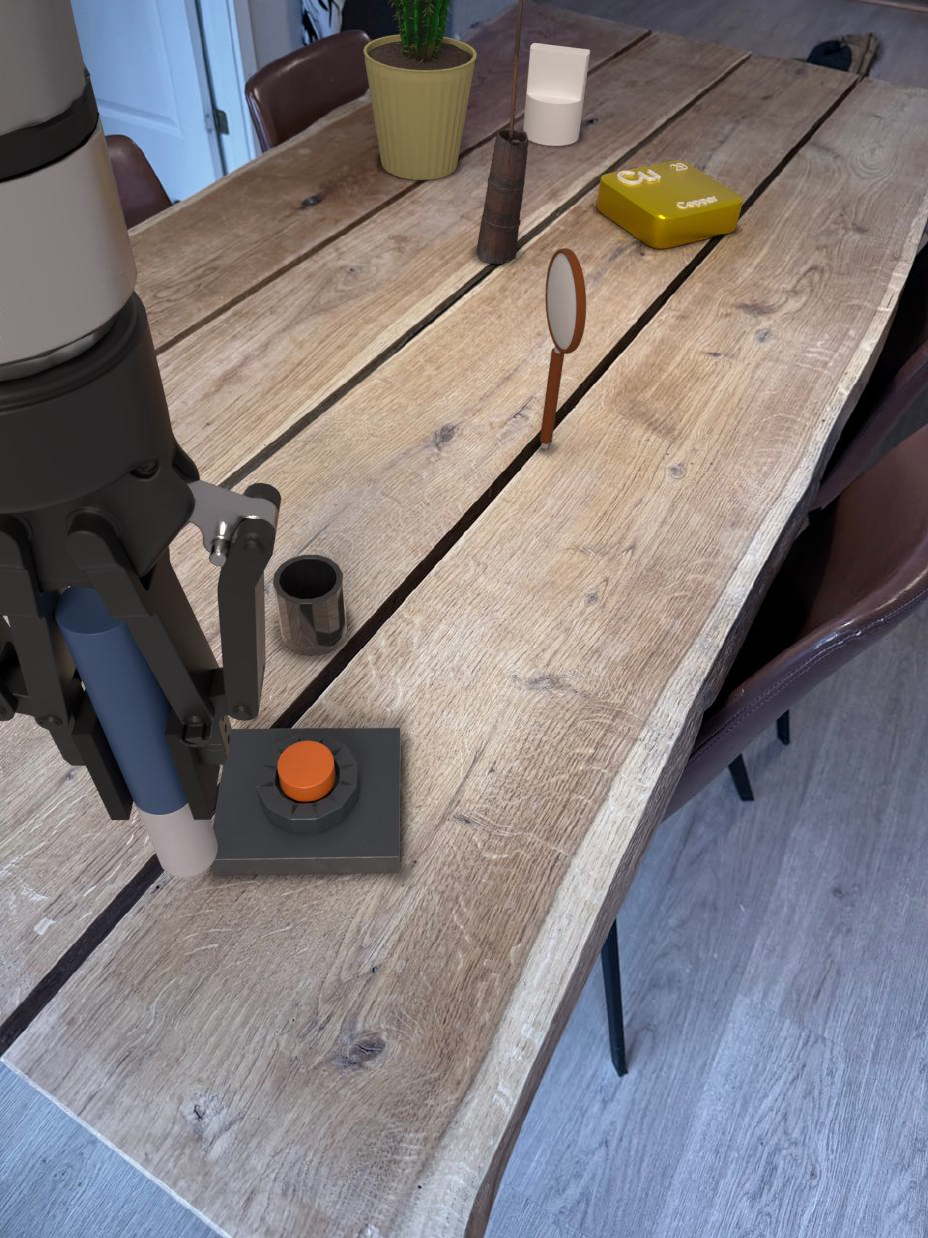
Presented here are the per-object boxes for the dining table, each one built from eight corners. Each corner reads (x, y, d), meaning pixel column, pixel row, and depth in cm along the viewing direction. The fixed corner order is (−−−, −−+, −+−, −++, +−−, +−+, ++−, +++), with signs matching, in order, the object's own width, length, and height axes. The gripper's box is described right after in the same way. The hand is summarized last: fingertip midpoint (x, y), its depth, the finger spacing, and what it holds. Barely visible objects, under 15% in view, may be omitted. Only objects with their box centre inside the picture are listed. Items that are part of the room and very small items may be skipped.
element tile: (654, 252, 119) (662, 215, 115) (590, 206, 127) (595, 170, 124) (741, 231, 124) (751, 195, 121) (674, 188, 133) (681, 153, 129)
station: (213, 876, 58) (202, 846, 55) (233, 746, 65) (224, 713, 62) (399, 873, 59) (398, 843, 56) (400, 744, 66) (400, 712, 63)
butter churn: (531, 281, 112) (559, 19, 91) (456, 271, 113) (467, 9, 92) (540, 247, 118) (568, -6, 97) (468, 238, 119) (481, -14, 98)
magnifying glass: (524, 423, 92) (546, 230, 78) (540, 422, 93) (566, 229, 78) (548, 476, 87) (577, 279, 72) (565, 474, 87) (597, 278, 72)
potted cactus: (485, 154, 138) (500, -92, 115) (448, 194, 128) (456, -68, 106) (393, 136, 141) (389, -108, 119) (349, 173, 131) (337, -85, 109)
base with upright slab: (582, 128, 147) (593, 43, 138) (574, 148, 141) (585, 62, 132) (528, 120, 148) (535, 36, 139) (517, 141, 142) (524, 54, 133)
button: (277, 802, 58) (274, 788, 57) (282, 755, 60) (280, 740, 59) (334, 802, 58) (332, 787, 57) (337, 754, 61) (335, 740, 59)
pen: (154, 878, 43) (44, 634, 30) (165, 826, 45) (65, 574, 32) (213, 878, 44) (130, 634, 30) (221, 826, 45) (146, 574, 32)
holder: (278, 655, 71) (269, 603, 66) (284, 606, 74) (276, 554, 70) (345, 655, 71) (341, 603, 67) (348, 606, 74) (344, 554, 70)
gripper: (-439, 386, 20) (-45, 873, 37) (291, 403, 21) (341, 869, 38) (-267, 228, 25) (9, 723, 42) (315, 248, 26) (350, 724, 43)
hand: (166, 792), depth 40 cm, fingers closed on pen, 3 cm apart
